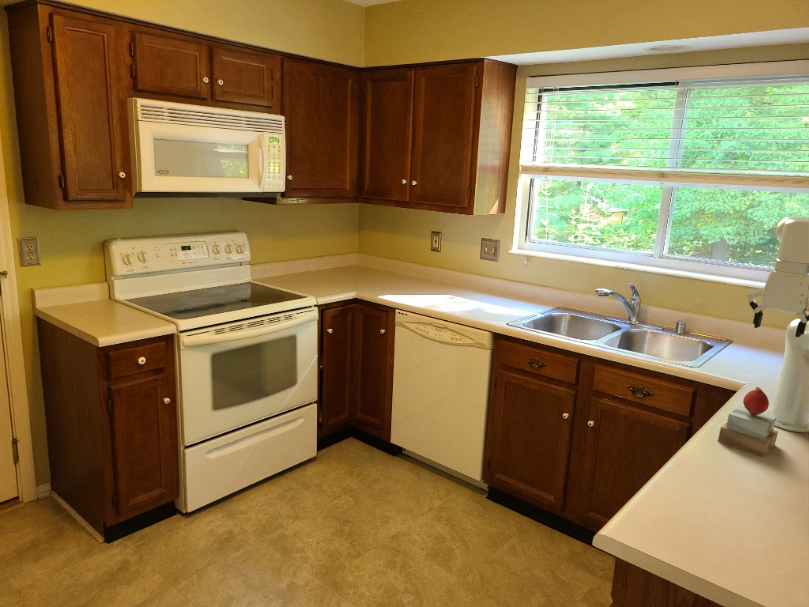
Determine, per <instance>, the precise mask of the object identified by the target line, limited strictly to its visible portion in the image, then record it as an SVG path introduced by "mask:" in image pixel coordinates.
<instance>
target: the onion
mask: <svg viewBox="0 0 809 607" xmlns="http://www.w3.org/2000/svg"><path fill="white" fill-rule="evenodd" d="M742 400H743V401H742V403H743V407H745V408H746V409H747V410H748V412H749V413H750V414H751V415H753V416H755V415H759V414H761V413H766V411H767V410H768V408H769V405H770V401H769V397H768V396H767V394H766V393H765V392H764V391H763V390H762V389H761V388H760V386H755V389H753V390H750V391H749V392H747V393H746V394H745V395H744V397H743V399H742Z"/></svg>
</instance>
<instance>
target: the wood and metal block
mask: <svg viewBox="0 0 809 607" xmlns="http://www.w3.org/2000/svg"><path fill="white" fill-rule="evenodd" d="M775 420H776V417H774V416H771V415H768V414H765V412H763V413H761V414H759V415H755V416H753V415H751V414H750V413H749V412H748V410H747V409H746V408H745V407H744V406H741V405H739V406H738V407H736V408H735V409H733V410H732V411H731V412H729V413H728V417H727V422H726V423H724V424H723V425H721V427H720V430H719V433H718V438H717V439H718V440H717V442H719V441H721V442H720V443H722V442H724V443H723V444H725V443H726V444H725V445H728V444H729V445H728V446H730V445H732V446H731V447H733V446H735V447H734V448H736V447H738V448H737V449H739V448H740V450H742V449H743V450H742V451H745V452H748V453H751V454H754V455H757V456H759V457H761V458H763V457H764V456H766V454H768V453H769V451H771V450H772V448H774V447H775V445H776V441H777V438H778V434H779V433H778V432H779V431H778V430H775V428H774V427H775V425H774V424H775Z"/></svg>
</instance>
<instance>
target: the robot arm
mask: <svg viewBox="0 0 809 607" xmlns="http://www.w3.org/2000/svg"><path fill="white" fill-rule="evenodd" d="M775 237H776V239H777V241H778V242H779V246H778V250H777V255H776V260H775V264H774V269H771V270H770V272H769V274H768V277H767V279H766V281H765V285H764V287H763V289H762V290H760V291H756V292H752V293H748V294H747V295H746V297H747V300H748V302H749V306H750V307H751V309H752V310H753V312H754V316H753V321H752V324H753V325H754V328H755V329H757V328H758V329H759V328H760V327H761V324H762V320H763V316H764V313H763V311H764V310H765V309H771V310H775V311H778V312H779V311H780V312H783V313H789V314H796V315H797V316H798V318H795V319H793V320H792V321H790V322H789V324H788V325H787V327H786V331H785V344H784V345H785V348H784V355H783V359H782V360H783V361H782V363H781V364H782V365H781V369H780V373H779V378H778V382H777V386H776V391H775V393H774V394H775V395H774V398H773V403H772V408H771V411H767V412H766V411H765V412H764V414H768V415H771V416H774V417H776V420H775V424H774V427H778V428H780V429H783V430H786V431H791V432H796V433H809V314H808V315H807V313H806V311H807V309H808V308H809V307H808V306H809V218H808V217H800V216H797V217H796V216H787V217H784V218H782V219H781V220H780V221H779V222H778V223H777V225H776V229H775ZM757 297H760V305H759V304H758V303H757V302H756V300H755V298H757Z"/></svg>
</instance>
